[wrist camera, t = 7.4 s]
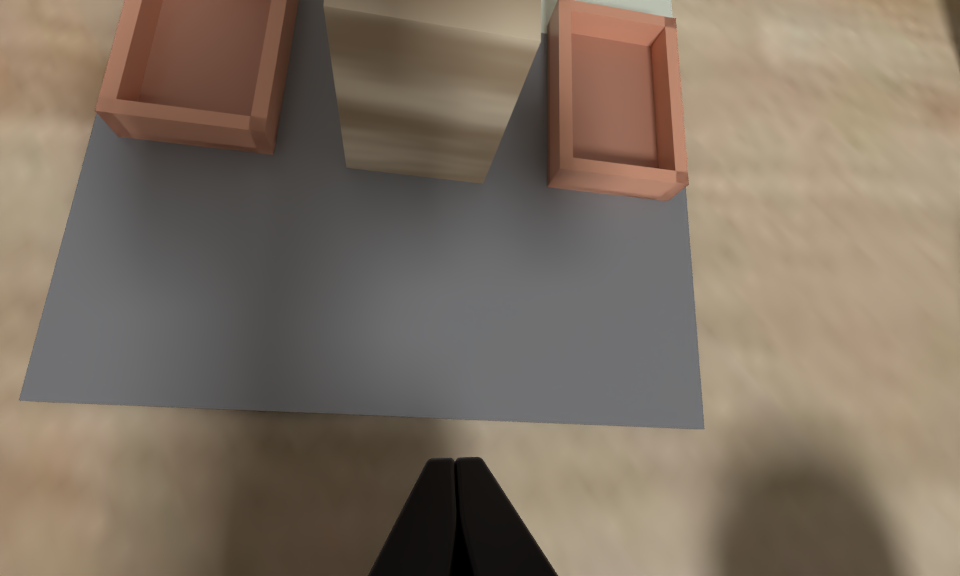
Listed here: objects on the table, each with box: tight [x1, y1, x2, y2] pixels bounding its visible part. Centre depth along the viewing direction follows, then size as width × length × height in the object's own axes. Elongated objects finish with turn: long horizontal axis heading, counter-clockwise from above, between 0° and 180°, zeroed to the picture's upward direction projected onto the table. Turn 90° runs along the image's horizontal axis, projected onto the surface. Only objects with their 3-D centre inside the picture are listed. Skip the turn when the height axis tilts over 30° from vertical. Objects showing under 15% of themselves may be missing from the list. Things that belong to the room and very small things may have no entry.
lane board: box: [19, 0, 704, 429], centre depth 23 cm, size 30×26×3 cm
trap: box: [95, 0, 299, 155], centre depth 22 cm, size 9×6×2 cm, turn 178°
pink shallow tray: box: [547, 0, 689, 201], centre depth 25 cm, size 9×6×2 cm, turn 178°
